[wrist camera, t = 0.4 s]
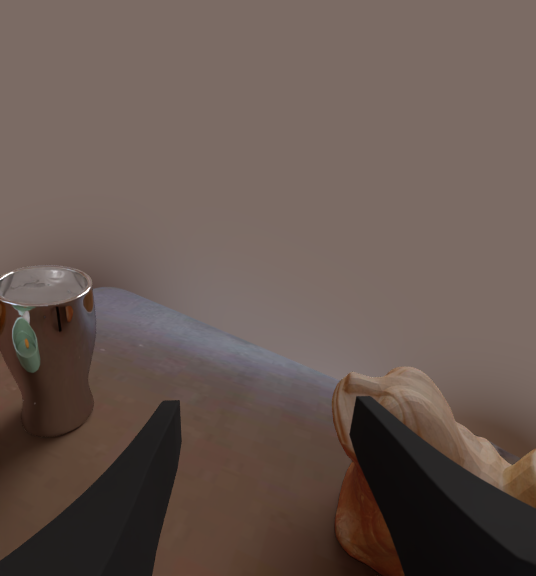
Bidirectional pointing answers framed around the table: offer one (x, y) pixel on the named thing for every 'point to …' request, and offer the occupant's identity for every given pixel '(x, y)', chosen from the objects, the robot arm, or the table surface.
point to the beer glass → (49, 344)
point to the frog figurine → (430, 427)
